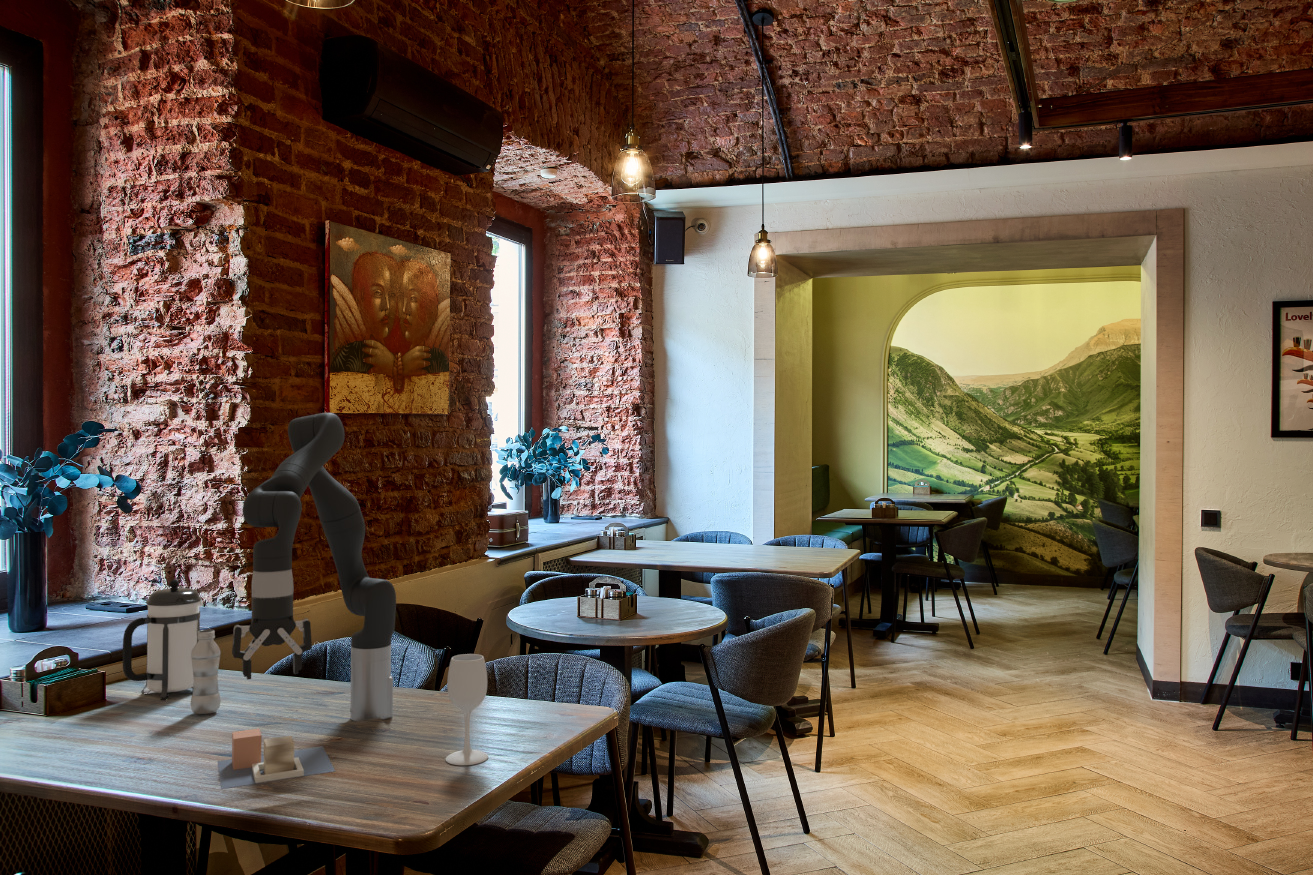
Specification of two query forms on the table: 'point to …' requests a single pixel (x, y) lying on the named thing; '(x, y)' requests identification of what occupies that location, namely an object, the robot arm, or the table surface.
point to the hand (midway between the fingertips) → (272, 675)
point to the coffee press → (167, 640)
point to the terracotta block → (246, 748)
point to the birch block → (278, 754)
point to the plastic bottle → (205, 674)
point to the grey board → (304, 765)
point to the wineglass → (467, 700)
